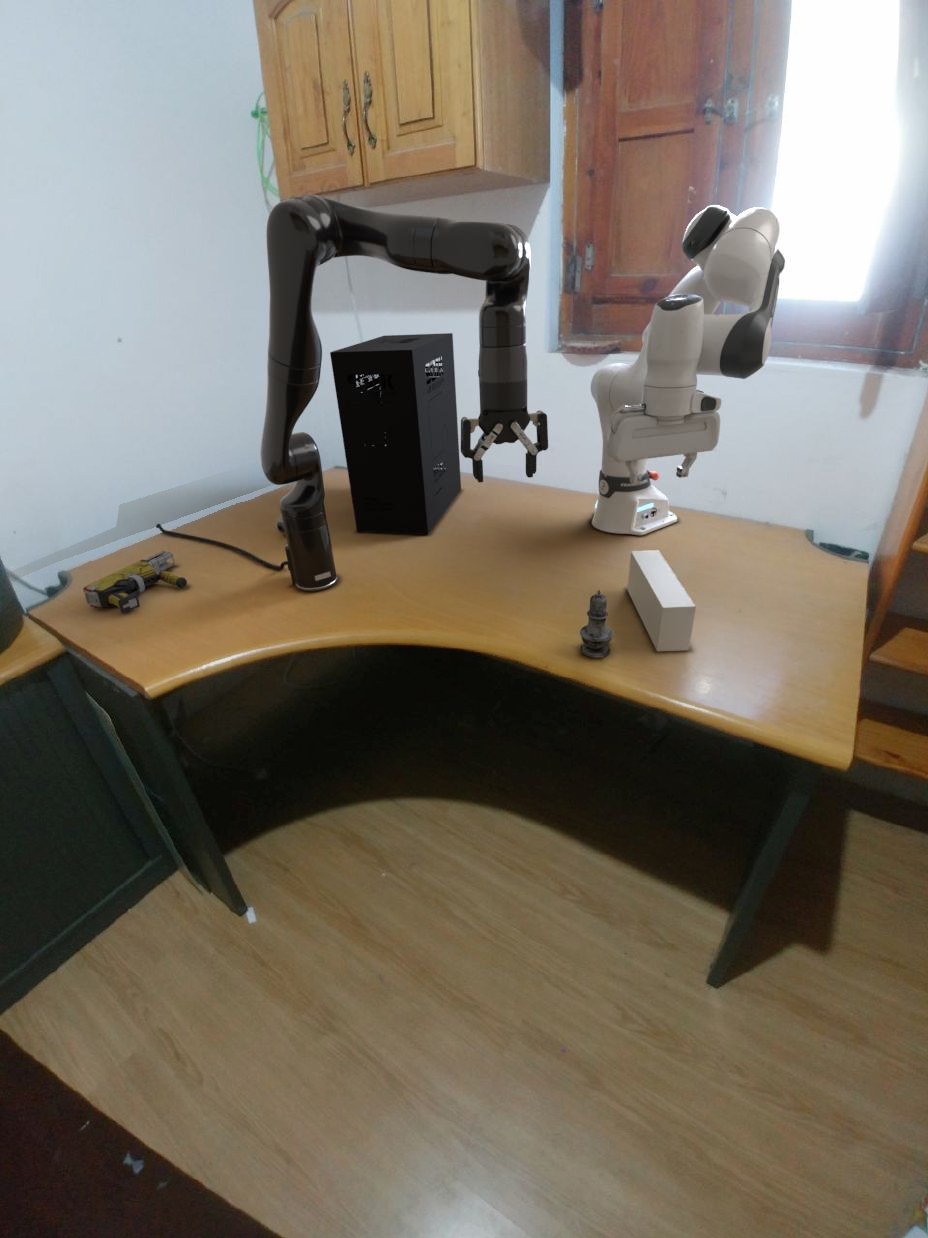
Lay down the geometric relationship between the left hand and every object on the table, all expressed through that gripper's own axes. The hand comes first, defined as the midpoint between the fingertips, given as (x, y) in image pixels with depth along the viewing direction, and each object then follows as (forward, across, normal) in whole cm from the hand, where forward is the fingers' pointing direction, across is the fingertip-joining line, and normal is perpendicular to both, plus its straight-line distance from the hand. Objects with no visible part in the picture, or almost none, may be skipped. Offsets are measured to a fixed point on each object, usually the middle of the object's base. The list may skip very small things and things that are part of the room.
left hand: (504, 478), depth 102 cm
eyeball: (+29, -46, +63) cm, 84 cm away
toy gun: (+29, -75, +37) cm, 89 cm away
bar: (+29, +29, -4) cm, 41 cm away
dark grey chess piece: (+29, +13, -12) cm, 34 cm away
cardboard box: (+29, -11, +73) cm, 79 cm away
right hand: (+4, +30, +4) cm, 31 cm away
